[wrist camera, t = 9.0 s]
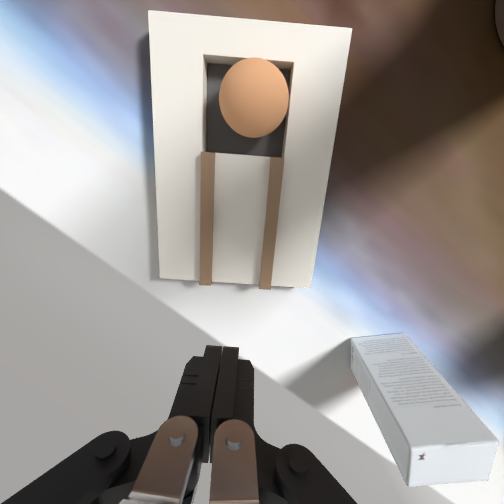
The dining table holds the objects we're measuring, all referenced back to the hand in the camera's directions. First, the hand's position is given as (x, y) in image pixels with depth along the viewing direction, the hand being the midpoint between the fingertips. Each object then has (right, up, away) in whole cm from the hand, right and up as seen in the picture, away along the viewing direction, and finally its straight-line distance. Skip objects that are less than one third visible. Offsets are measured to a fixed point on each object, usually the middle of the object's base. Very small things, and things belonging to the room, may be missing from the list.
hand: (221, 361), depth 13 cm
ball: (+2, +16, +7) cm, 18 cm away
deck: (+1, +12, +11) cm, 17 cm away
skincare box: (+15, -6, +18) cm, 24 cm away
